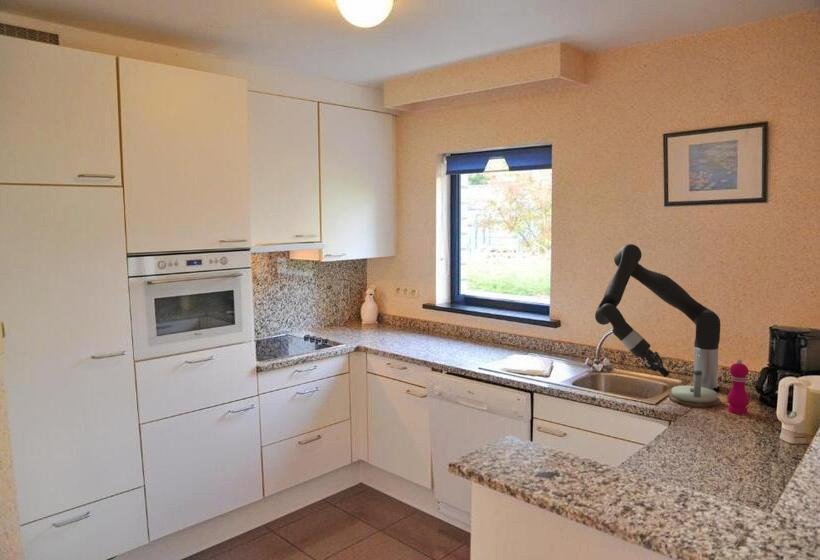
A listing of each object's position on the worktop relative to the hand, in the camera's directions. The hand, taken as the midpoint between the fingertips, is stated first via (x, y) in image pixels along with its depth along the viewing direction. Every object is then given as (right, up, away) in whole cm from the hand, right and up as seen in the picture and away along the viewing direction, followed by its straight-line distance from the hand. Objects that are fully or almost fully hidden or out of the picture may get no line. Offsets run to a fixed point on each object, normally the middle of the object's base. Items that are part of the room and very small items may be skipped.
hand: (667, 375), depth 234 cm
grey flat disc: (+10, -10, -2) cm, 14 cm away
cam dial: (+10, -8, -2) cm, 13 cm away
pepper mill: (+19, -11, -16) cm, 27 cm away
